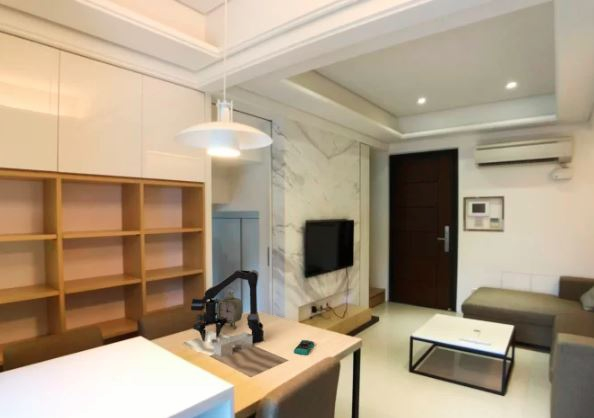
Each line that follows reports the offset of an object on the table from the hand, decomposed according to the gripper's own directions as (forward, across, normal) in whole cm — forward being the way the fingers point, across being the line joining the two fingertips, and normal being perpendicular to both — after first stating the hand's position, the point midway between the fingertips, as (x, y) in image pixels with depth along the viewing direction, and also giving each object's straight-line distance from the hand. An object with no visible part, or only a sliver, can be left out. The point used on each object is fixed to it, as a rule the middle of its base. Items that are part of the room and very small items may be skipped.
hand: (210, 338), depth 194 cm
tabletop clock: (+2, -23, -13) cm, 26 cm away
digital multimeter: (+2, -29, +44) cm, 53 cm away
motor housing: (+2, 0, +21) cm, 21 cm away
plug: (+1, 0, +5) cm, 5 cm away
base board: (+2, 0, +21) cm, 21 cm away
